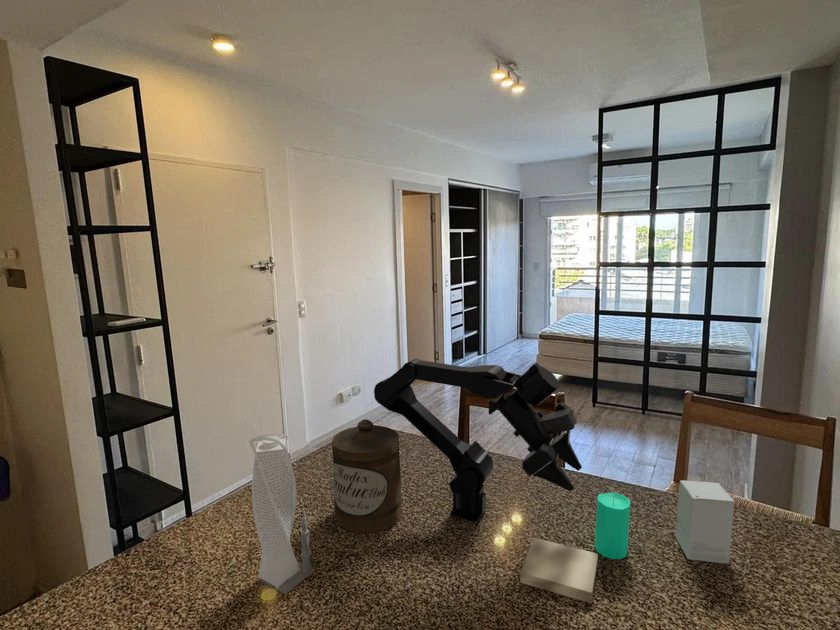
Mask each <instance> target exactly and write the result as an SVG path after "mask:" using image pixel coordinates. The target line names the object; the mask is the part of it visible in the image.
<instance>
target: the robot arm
mask: <svg viewBox="0 0 840 630" xmlns="http://www.w3.org/2000/svg"><path fill="white" fill-rule="evenodd" d="M416 380H419V381H423V382H429V383H430V382H431V383H436V384H442V385H448V386H453V387H459V388H463V389H464V390H466V391H467V392H469V393H471V394H473V395H475V396H478V397H481V398H484V399H489V401H488V412H487V414H489V416H490V415H493V414H494V413H495V412H496V411H498V412H499V413H500V414H501V415H502V416H503V417H504V419H506V421H507V422H508V423H509V424H510V425H511V427H512V428H513V429H514V432H513V435H514V436H515V437H516V438H517V437H519V436H520V437H521V438H522V439H523V441H524V442H525V443H526V444H527V445H528V447H527V449H526V450H527V451H528V452H529V453H528V454H526V456H525V457H524V458H523V460H522V466H521V467H522V468H521V469H522V470H523V471H524V472H525V474H526V475H527V476H528V477H531V476H533V477H534V478H536V477H538V478H540V479H543V480H545V481H548V482H550V483H553V484H554V485H557V487H561V488H562V489H564V490H566V491H568V492H572V491H573V490H575V486H574V485H573V483H572V481H571V480H570V478H569V477H568V476H567V474H566V473H565V471H564V470H563V468H562V467H561V466H560V464H559V459H560V460H561V461H563V462H564V463H566V464H567V465H568V466H570V467H572V468H573V469H574V470H576V471H580V470H581V469H582V468H583V466H582V465H581V462H580V460H579V459H578V456H577V455H576V453H575V451H574V449H573V447H572V444H571V441H570V438H571V431H572V430H574V429H575V427H576V426H575V425H576V424H577V423H578V422H577V420H576V417H575V415H574V413H575V410H574V409H572V408H571V407H572V406H568V405H567V404H566V403H565V402H564V401H562V402H559V403H556V404H555V406H554V411H551V412H550V413H547V414H546V413H545V412H543V410H541V409H538V410H537V411H536V410H535V409H534V407H533V406H532V405H535V406H539V405H541V404H542V403H543V402H544V401H545V400H547V399H548V398H550V396H552V395H553V394H554V393H555V392H557V391H558V390H559V389H561V385H560V383H559V380H558V379H557V376H555V374H554V373H553V372H551V371H550V370H549V369H547V368H545V367H544V366H541V365H540V364H539V363H538V362H537V361H536V362H534V363H533V364H532V365H531V366H529V368H528V369H527V370H526V371H525V372H524V373H523V374H522V375H521V374H519V373H515V372H510V371H506V370H505V369H504V367H503V366H500V365H498V364H486V365H485V364H484V365H483V364H482V365H475V366H460V365H455V364H447V363H440V362H435V361H429V360H428V361H427V360H422V359H420V358H414V359H412V360H409V361H408V362H405V363H404V364H403V366H402V367H400V368H399V370H397V371H396V372H395V373H393V374H392V375H390V376H389V377H386V378H385V379H383V380H381V381H379V382H377V383H376V384H375V386H374V388H373V393H374V395H373V397H374V400H375V401H376V402H377V403H378V404H379V405H380V406H382V407H383V408H385V409H386V410H388V411H390V412H391V413H395V414H398V415H401V416H403V417H404V418H405V419H406V420H407V421H408V422H409V423H410V424H411V425H412V426H414V428H416V429H417V431H419V432H420V433H421V435H423V436H424V437H425V438H426V439H427V440H428V441H429V442H430V443H432V445H434V446H435V447H436V448H437V449H438V450H439V451H440V452H441V453H442V454H444V456H446V457H447V458H448V460H449V463H450V465H451V467H452V470H453V472H454V474H455V476H453V478H452V479H451V480H450V481H449V483H448V486H449V488H450V492H451V493H452V509H451V510H450V512H449V515H450V516H452V517H457V518H460V519H463V520H464V519H465V520H468V521H473V522H478V521H479V520H480V518H481V517H482V516H483V515H484V513H485V512H486V510H487V509H486V508H487V507H486V506H487V504H486V503H487V497H486V496H487V493H486V492H485V491H484V490H485V489H484V487H485V486H484V485H483V484H485V482H486V480H487V479H488V478H489V477H490V476H491V474H492V472H493V470H494V460H493V457H492V456H490V451H488V450H487V449H485V448H484V447H483V446H481V444H480V443H479V442H478V441H477V440H474V441H473V442H472V443H471V444H470V443H468V442H464V441H463V440H462V439H460V437H458V435H456V434H455V433H454V432H453V431H452V430H450V428H448V427H447V426H446V425H445V424H444V423H443V422H442V421H440V419H438V417H436V416H435V415H434V414H433V413H432V412H431V411H430V410H429V409H428V408H427V407H426V406H424V405H423V404H422V403H421V402H420V401H419V400H418V398H417V397H416V395H415V392H414V389H413V387H412V386H411V385H412V384H413V383H414V382H416ZM514 388H515V390H514V391H512V390H513V389H514ZM511 391H512V392H511ZM498 395H500V396H499V397H498V398H495V397H497V396H498Z"/></svg>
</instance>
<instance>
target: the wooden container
mask: <svg viewBox="0 0 840 630" xmlns="http://www.w3.org/2000/svg"><path fill="white" fill-rule="evenodd" d="M331 440H332V442H331V448H332V456H333V459H332V460H333V462H332V463H333V496H334V497H333V499H334V515H335V521H336V523H337V524H338V526H340V527H341V528H342V529H345V530H346V531H349V532H352V533H359V534H360V533H361V534H371V533H377V532H382V531H384V530H387V529H389V528H390V527H392V526H394V525H395V524H396V523H397V522H398V521H399V520H400V519H401V516H402V508H403V506H402V479H401V478H402V476H401V475H402V473H401V459H400V438H399V434H398V432H397V431H396V430H394V429H393V428H391V427H388V426H383V425H375V424H374V423H373V421H372V420H369V419H362V420H361V421H359V422H358V423H357V425H356V426H353V427H350V428H349V427H348V428H347V429H344V430H342V431H341V430H340V431H339V432H338V433H336V434H335V435H334V436H333V438H332V439H331Z"/></svg>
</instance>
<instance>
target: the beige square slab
mask: <svg viewBox="0 0 840 630" xmlns="http://www.w3.org/2000/svg"><path fill="white" fill-rule="evenodd" d="M598 557H599V553H598V552H597V553H596V552H592V551H588V550H585V549H581V548H576V547H573V546H568V545H565V544H561V543H556V542H553V541H548V540H545V539H542V538H537V537H533V538H532V541H531V544H530V545H529V549H528V551H527V554H526V557H525V559H524V561H523V564H522V568H521V571H520V574H519V575H520V581H519V583H520V584H523V585H528V586H531V587H534V588H537V589H541V590H545V591H548V592H551V593H555V594H558V595H561V596H565V597H568V598H571V599H575V600H579V601H581V602H586V603H589V604H592V602H593V596H594V595H593V594H594V589H595V582H596V576H597V570H598V560H599V558H598Z"/></svg>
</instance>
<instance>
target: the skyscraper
mask: <svg viewBox="0 0 840 630" xmlns="http://www.w3.org/2000/svg"><path fill="white" fill-rule="evenodd" d="M253 442H256V445H254V443H253ZM287 442H288V435H287V434H285V433H268V434H267V433H266V434H261V435H259V436H257V437H254V438H251V439H249V441H248V443H249V445H250V447H251V449H252V451H253V454H254V459H253V467H252V480H251V481H252V482H251V499H252V501H251V502H252V511H253V516H254V517H253V518H254V521H255V522H254V524H255V528H256V533H257V536H258V539H259V542H260V547H261V550H262V551H261V557H260V563H259V569H258V577H257V581H260V582H261V583H263V584H265V585H266V586H268V587H270V588H272V589H274V590H276V591H278V593H279V592H280V593H281V594H283V595H287V594H288V593H290V591H292V590H293V589H294V588H296V587H297V586H298V585H299V584H300V583H302V582H303V581H304V580H305V579H306V578H308V577H309V576H310V575H311V574H312V573H313V572H315V569H314V568H313V567H312V566H311V564H312V560H311V559H312V553H311V551H310V531H309V529H308V528H307V516H306V512H305V511H306V509H305V508H302V517H301V521H302V522H301V525H302V530H301V531H300V539H301V553H300V556H301V562H300V561H299V560H297V558H296V555H295V553H294V550H293V547H292V545H291V538H290V537H291V534H292V531H293V530H292V529H293V525H294V523H295V521H294V520H295V516H296V509H297V483H296V478H295V472H294V468H293V464H292V462H291V458H290V456H289V451H288V449H287V446H286V445H287Z"/></svg>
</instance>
